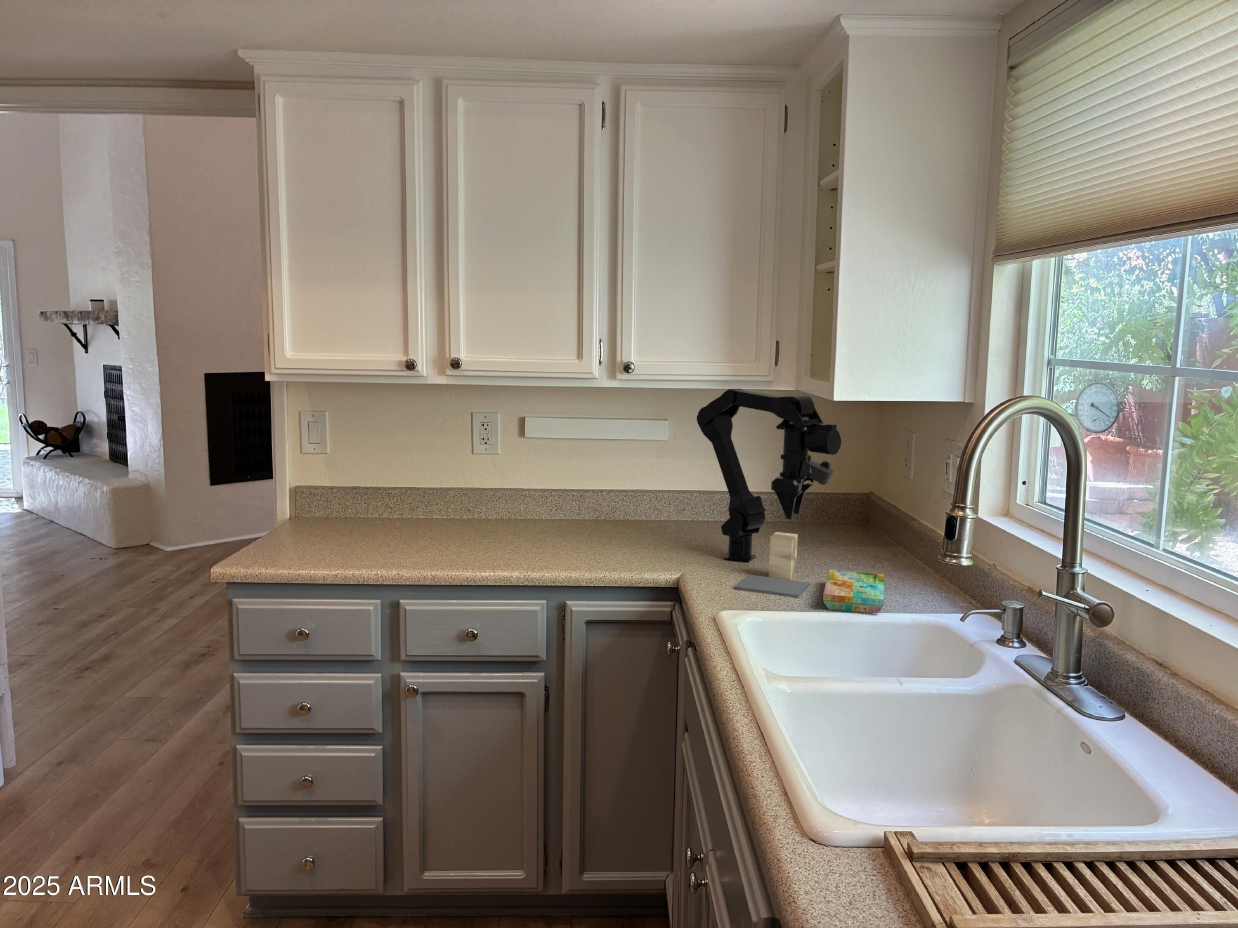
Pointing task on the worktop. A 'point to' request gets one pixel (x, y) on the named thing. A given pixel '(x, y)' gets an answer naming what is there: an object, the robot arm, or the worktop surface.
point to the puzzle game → (854, 591)
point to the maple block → (783, 555)
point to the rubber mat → (772, 586)
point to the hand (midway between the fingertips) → (792, 516)
